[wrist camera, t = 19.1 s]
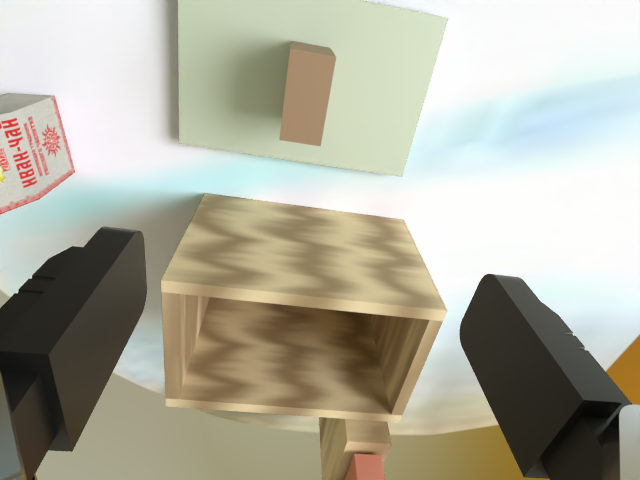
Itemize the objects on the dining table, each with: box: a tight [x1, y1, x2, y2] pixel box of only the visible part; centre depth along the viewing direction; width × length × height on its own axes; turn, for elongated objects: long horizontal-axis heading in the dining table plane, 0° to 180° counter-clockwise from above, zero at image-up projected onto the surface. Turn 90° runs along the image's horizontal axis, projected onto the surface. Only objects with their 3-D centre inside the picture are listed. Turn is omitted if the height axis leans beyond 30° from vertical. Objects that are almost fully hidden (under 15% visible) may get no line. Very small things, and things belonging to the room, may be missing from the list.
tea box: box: [0, 93, 75, 214], centre depth 31 cm, size 4×7×10 cm, turn 176°
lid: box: [178, 0, 448, 177], centre depth 30 cm, size 20×13×8 cm, turn 80°
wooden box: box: [161, 193, 447, 480], centre depth 40 cm, size 20×26×15 cm
